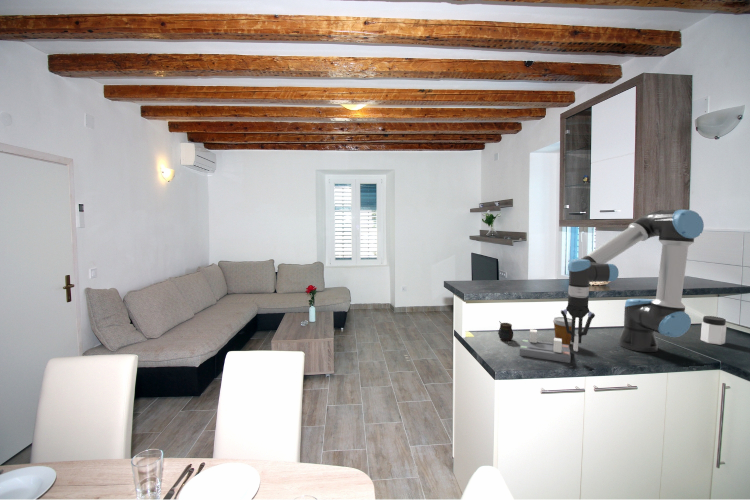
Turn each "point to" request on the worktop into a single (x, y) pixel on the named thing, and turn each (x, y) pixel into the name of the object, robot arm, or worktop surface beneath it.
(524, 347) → the panel
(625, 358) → the worktop surface
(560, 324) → the disposable coffee cup
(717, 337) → the jar
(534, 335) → the block
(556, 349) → the block
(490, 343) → the worktop surface
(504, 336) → the mate gourd
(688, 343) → the worktop surface
